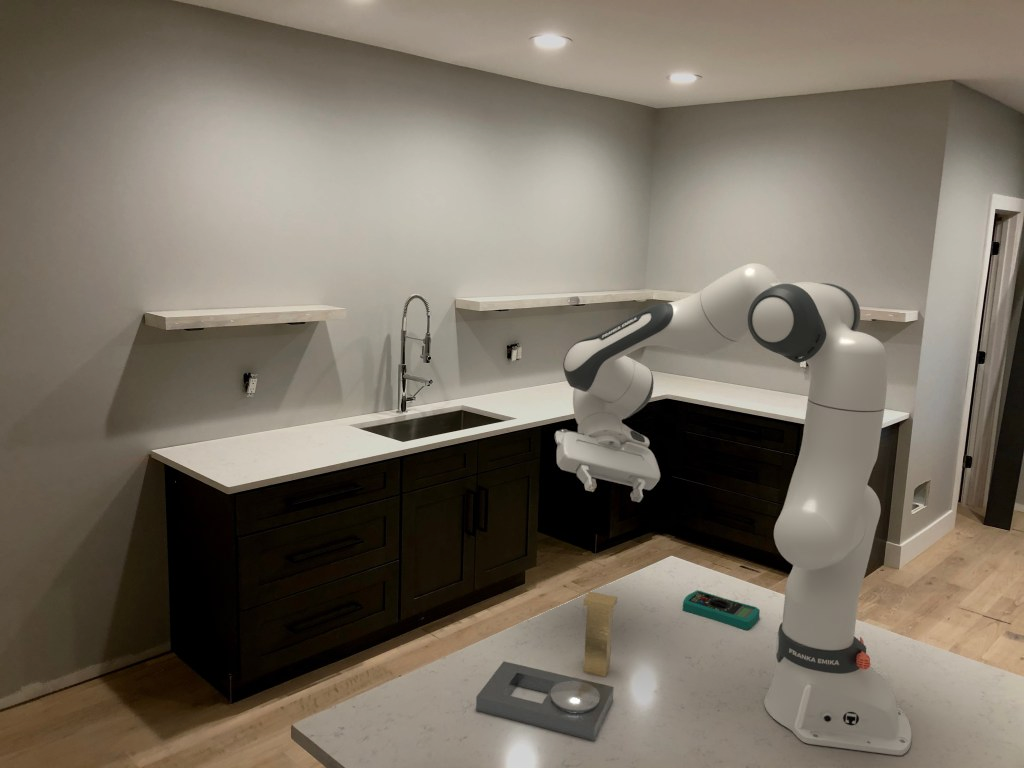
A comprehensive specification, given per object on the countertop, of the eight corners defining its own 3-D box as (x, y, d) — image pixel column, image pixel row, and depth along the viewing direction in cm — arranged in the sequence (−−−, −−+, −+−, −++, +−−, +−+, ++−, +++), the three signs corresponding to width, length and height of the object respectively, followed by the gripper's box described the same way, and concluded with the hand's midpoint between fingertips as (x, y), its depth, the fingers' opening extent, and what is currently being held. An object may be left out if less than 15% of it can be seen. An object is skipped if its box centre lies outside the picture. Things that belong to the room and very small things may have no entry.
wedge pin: (613, 668, 145) (617, 596, 142) (608, 678, 141) (612, 605, 139) (585, 662, 147) (589, 591, 144) (580, 672, 143) (583, 599, 141)
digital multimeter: (693, 599, 174) (694, 586, 174) (760, 619, 166) (761, 606, 165) (679, 611, 169) (680, 598, 168) (748, 633, 160) (749, 620, 160)
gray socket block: (612, 700, 135) (613, 682, 134) (594, 741, 124) (595, 721, 123) (503, 674, 142) (503, 657, 141) (476, 710, 131) (476, 692, 130)
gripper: (560, 415, 149) (569, 470, 138) (655, 440, 155) (671, 494, 144) (546, 438, 152) (555, 493, 142) (640, 461, 158) (654, 515, 148)
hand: (614, 494), depth 143 cm, fingers open, 8 cm apart
